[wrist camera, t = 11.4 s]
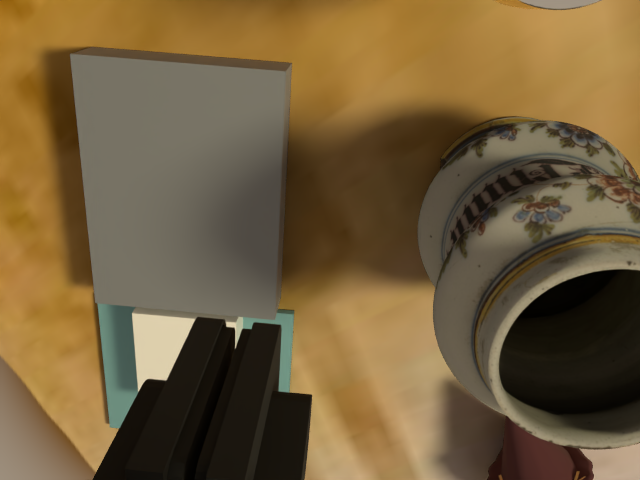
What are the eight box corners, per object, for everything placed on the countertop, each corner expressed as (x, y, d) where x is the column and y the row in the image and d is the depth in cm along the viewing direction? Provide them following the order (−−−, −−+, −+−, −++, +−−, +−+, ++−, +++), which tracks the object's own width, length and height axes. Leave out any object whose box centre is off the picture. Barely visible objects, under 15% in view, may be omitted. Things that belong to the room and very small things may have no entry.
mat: (99, 292, 43) (96, 295, 43) (294, 310, 43) (293, 314, 43) (112, 422, 49) (110, 427, 48) (286, 440, 48) (285, 445, 48)
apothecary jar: (437, 80, 36) (499, 181, 19) (637, 119, 36) (863, 251, 20) (391, 260, 41) (409, 459, 25) (566, 293, 41) (699, 513, 25)
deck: (91, 46, 36) (69, 53, 34) (291, 62, 36) (285, 71, 33) (112, 281, 43) (95, 303, 40) (280, 297, 43) (275, 320, 40)
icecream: (452, 454, 39) (517, 582, 46) (572, 446, 36) (624, 585, 43) (460, 375, 45) (517, 499, 51) (565, 362, 42) (612, 496, 48)
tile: (144, 294, 43) (132, 313, 40) (243, 303, 42) (236, 322, 40) (150, 385, 46) (139, 408, 44) (242, 394, 46) (235, 417, 44)
